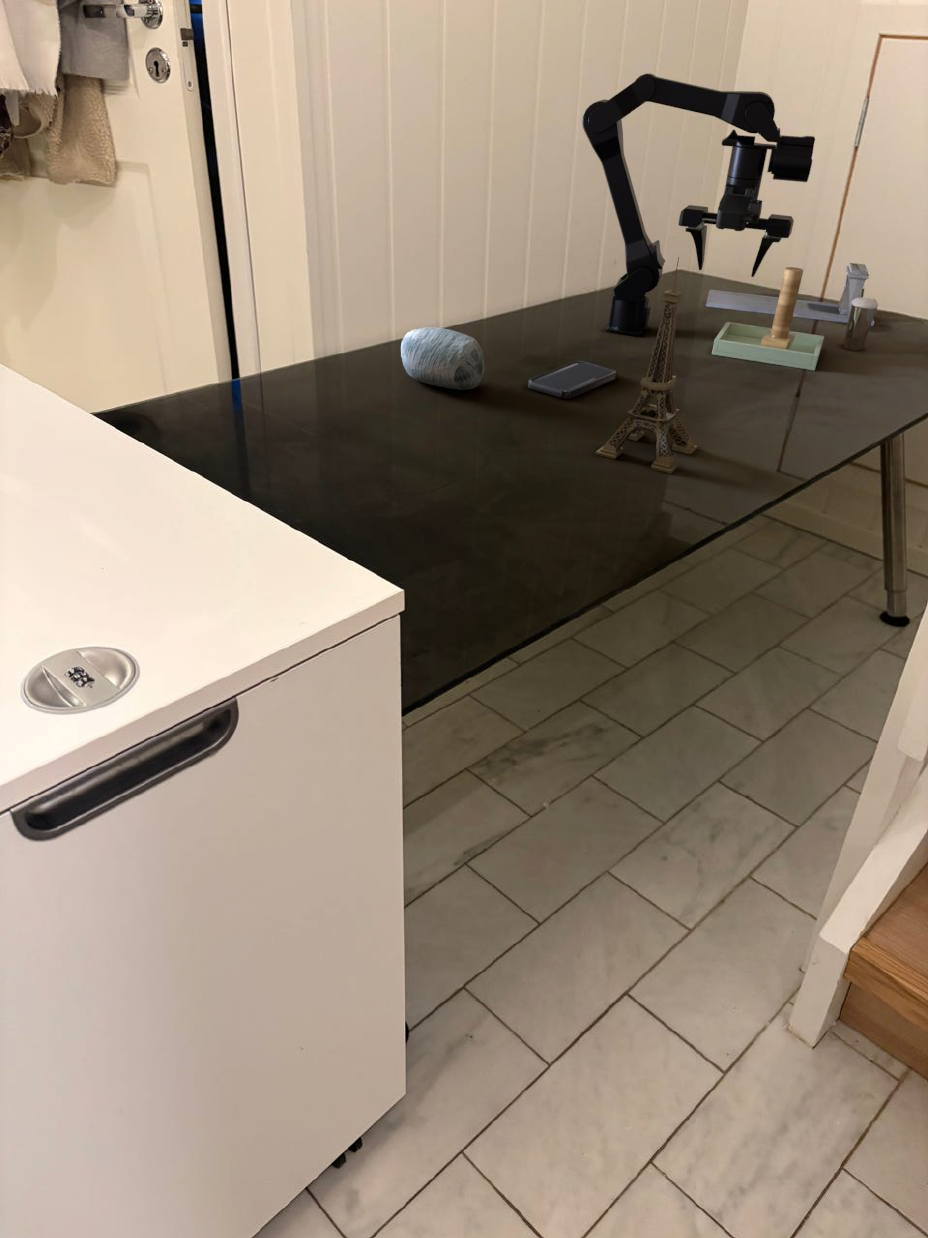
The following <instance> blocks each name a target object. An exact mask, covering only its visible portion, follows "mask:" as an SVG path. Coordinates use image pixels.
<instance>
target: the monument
mask: <svg viewBox="0 0 928 1238" xmlns="http://www.w3.org/2000/svg"><path fill="white" fill-rule="evenodd" d="M845 272H846V274H845V275H846V276H845V280H844V284H843V287H842V291H841V295H840V299H839V302H838V303H832V302H825V301H824V302H823V301H816V300H815V301H814V300H806V299H797V300H796V304H795V309H794V313H793V317H792V318H802V319H810V320H819V321H827V322H837V323H844V324H848V320H849V314H850V308H851V302H852V301H853V300H854V299H855V298H860V297H861V291H862V289H864V287H865V283H866V281H867V280H869V278H870V275H869V270H868V268H867V265H866V264H864V263H855V262H849V264H848V265H846V266H845ZM706 299H707V300H706V303H705V307H706V308H707V307H708V308H717V309H725V310H734V311H741V312H749V313H750V312H752V313H759V314H768V315H775V312H776V308H777V303H778V299H779V296H770V295H763V294H762V295H760V294H753V293H744V292H734V291H725V290H718V289H717V290H716V289H709V291H708V295H707V298H706ZM874 325H875V319H874V318H873V320H872V323H871V325H870V327H874Z"/></svg>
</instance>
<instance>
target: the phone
mask: <svg viewBox="0 0 928 1238" xmlns="http://www.w3.org/2000/svg"><path fill="white" fill-rule="evenodd" d="M616 376H617V370H615V369H612V368H609V367H606V366H602V365H598V364H594V363H591V362H587V361H584V360H574V361H573V362H570V363H568V364H564V365H562V366H560V367H557V368H554V369H551V370H549V371H547V372H544V373H541V374H539V375H536V376H534V377H531V378H529V379H528V383H527V387H528V389H530V390H533V391H537V392H539V393H543V394H546V395H550V396H553V397H557V398H560V399H564V400H566V399H567V400H568V399H572V398H575V397H577V396H579V395H582V394H584V393H586V392H588V391H589V392H590V390H593V389H595V388H598V387H600V386H602V385H605V384H607V383H609V382H612V381H614V380H616V378H617V377H616Z"/></svg>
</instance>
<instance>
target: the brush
mask: <svg viewBox="0 0 928 1238" xmlns="http://www.w3.org/2000/svg"><path fill="white" fill-rule="evenodd" d="M803 275H804V269H803V268H800V267H794V266H787V267H785V268H784V273H783V276H782V280H781V281H782V282H781V286H780V290H779V295H778V297H779V299H778V303H777V308H776V312H775V314H774V317H773V322H772V327H771V328H772V330H771V331H769V332H768V333H767V334H766V335H765V336H764V337H763V338H762V343H761V346H766V347H773V348H779V349H786V350H790V349H791V345H792V343H793V342H794V338H795V334H790V333H789V331H791V330H790V329H791V325H792V321H793V318H794V317H793V313H794V309H795V304H796V300H798V296H799V293H800V292H799V291H800V287H801V284H802V283H801V282H802V278H803Z"/></svg>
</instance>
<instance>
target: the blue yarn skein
mask: <svg viewBox="0 0 928 1238" xmlns="http://www.w3.org/2000/svg"><path fill="white" fill-rule="evenodd" d="M400 357H401V361H402V365H403V368H404V369H405V371H406V373H407V374H408V376H409V377H411V379H413V380H415V381H418V382H420V383H423V384H427V385H431V386H436V387H440V388H446V389H452V390H458V391H464V390H472V389H476V388H477V387H478V386H479V385H480V384H481V383H482V380H483V377H484V375H485V366H486V365H485V356H484V353H483V349H482V346H481V344H479V342H478V341H477V340H476V339H475V338H474V337H473V336H469V335H467V334H464V333H462V332H459V331H456V330H453V329H448V328H443V327H435V326H434V327H433V326H427V327H424V326H423V327H419V328H415V329H411V330H409V331H408V332H407V333H406V334H405V335H404V336H403V338H402V340H401V345H400Z"/></svg>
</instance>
